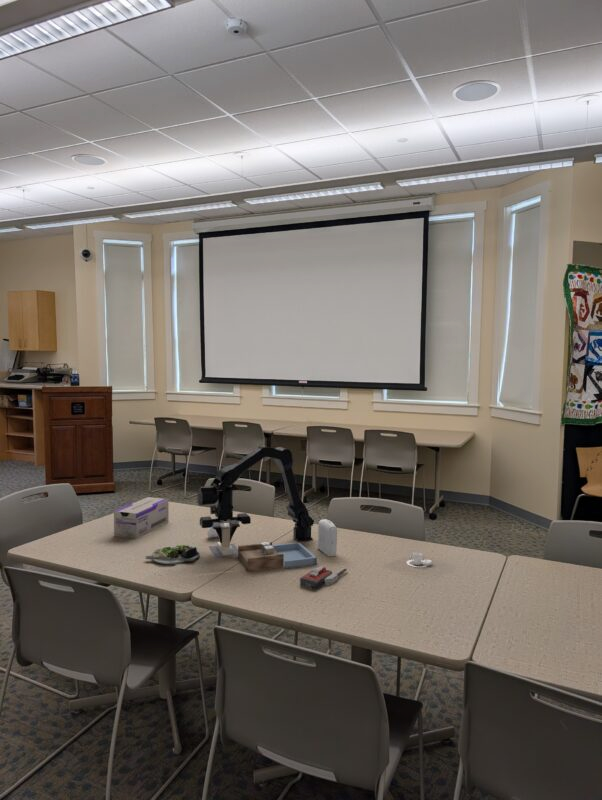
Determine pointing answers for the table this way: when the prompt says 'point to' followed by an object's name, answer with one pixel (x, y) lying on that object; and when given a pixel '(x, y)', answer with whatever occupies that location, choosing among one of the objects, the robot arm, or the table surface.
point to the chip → (263, 546)
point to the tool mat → (219, 554)
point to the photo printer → (327, 537)
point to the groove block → (259, 558)
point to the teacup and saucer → (418, 560)
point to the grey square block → (268, 550)
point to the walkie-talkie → (319, 578)
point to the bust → (213, 532)
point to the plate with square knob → (225, 542)
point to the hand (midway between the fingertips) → (225, 542)
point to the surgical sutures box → (140, 517)
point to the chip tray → (295, 555)
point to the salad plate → (175, 555)
